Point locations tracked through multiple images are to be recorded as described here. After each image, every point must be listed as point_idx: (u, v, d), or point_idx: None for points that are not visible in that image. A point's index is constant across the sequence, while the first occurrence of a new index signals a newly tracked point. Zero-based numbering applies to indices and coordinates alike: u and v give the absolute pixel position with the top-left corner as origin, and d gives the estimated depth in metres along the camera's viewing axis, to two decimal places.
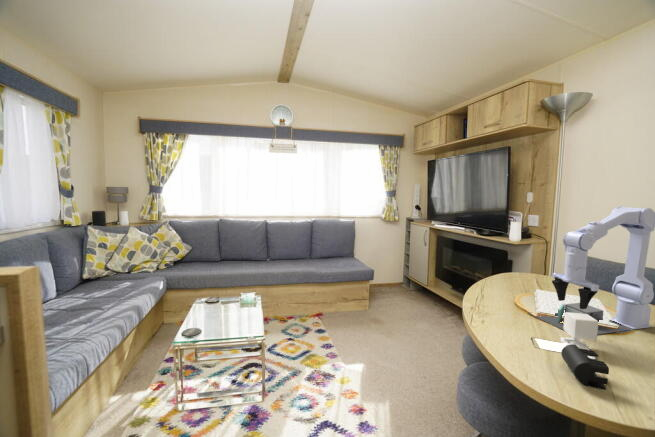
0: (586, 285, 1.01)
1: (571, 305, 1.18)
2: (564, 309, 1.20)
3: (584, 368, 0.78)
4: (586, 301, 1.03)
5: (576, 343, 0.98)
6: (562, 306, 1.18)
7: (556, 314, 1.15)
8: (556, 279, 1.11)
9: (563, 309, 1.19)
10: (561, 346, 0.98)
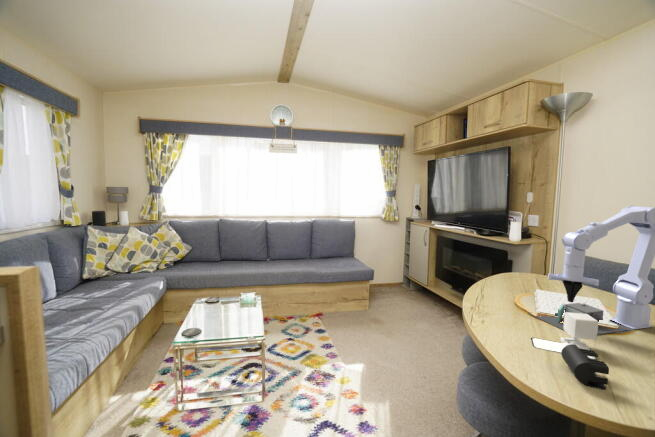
0: None
1: (571, 305, 1.18)
2: (564, 309, 1.20)
3: (584, 368, 0.78)
4: (568, 294, 1.13)
5: (576, 343, 0.98)
6: (562, 306, 1.18)
7: (556, 314, 1.15)
8: None
9: (563, 309, 1.19)
10: (561, 346, 0.98)
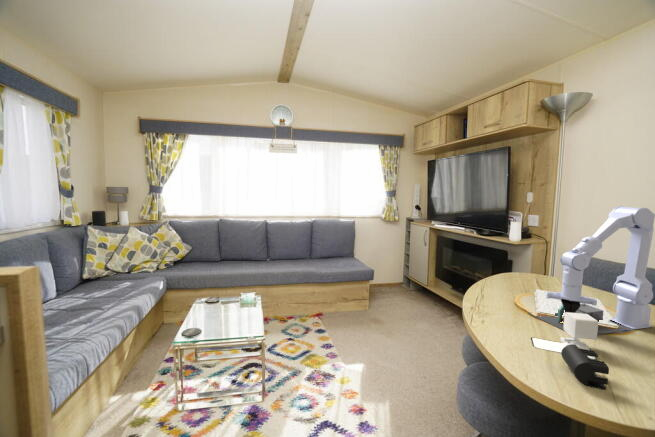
0: None
1: None
2: None
3: (584, 368, 0.78)
4: None
5: (576, 343, 0.98)
6: (562, 306, 1.18)
7: (556, 314, 1.15)
8: None
9: (563, 309, 1.19)
10: (561, 346, 0.98)
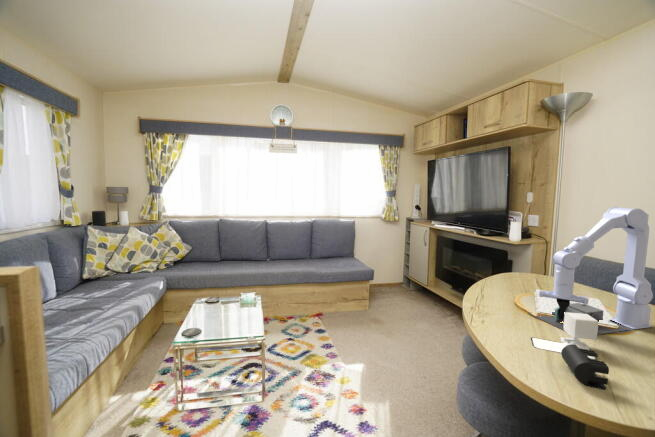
0: None
1: (571, 305, 1.18)
2: None
3: (584, 368, 0.78)
4: None
5: (576, 343, 0.98)
6: None
7: (553, 314, 1.16)
8: None
9: None
10: (561, 346, 0.98)
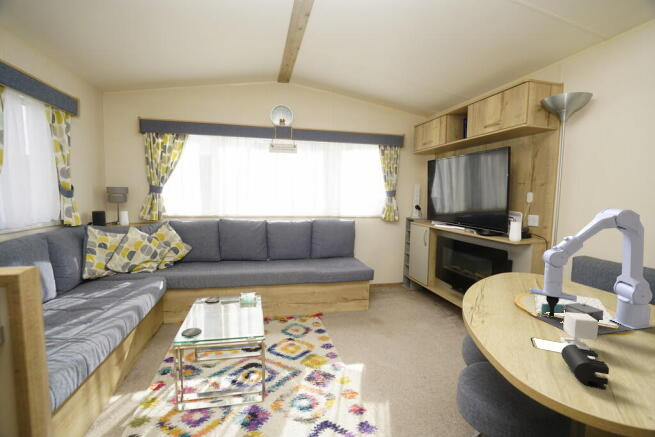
0: None
1: (571, 305, 1.18)
2: (563, 309, 1.19)
3: (584, 368, 0.78)
4: None
5: (576, 343, 0.98)
6: None
7: None
8: None
9: (560, 308, 1.20)
10: (561, 346, 0.98)
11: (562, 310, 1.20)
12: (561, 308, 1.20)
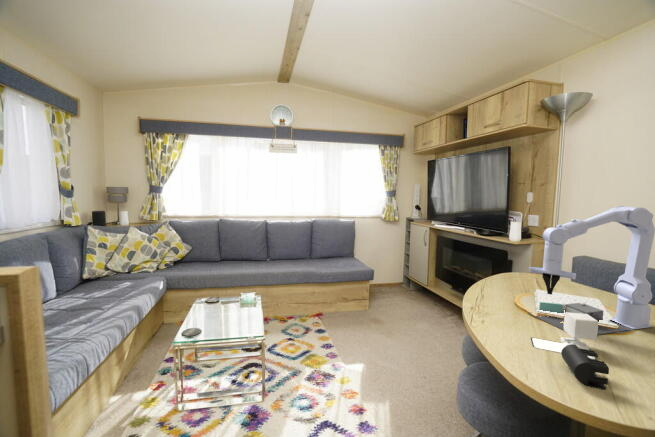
0: None
1: (571, 305, 1.18)
2: (563, 309, 1.19)
3: (584, 368, 0.78)
4: None
5: (576, 343, 0.98)
6: (555, 303, 1.20)
7: None
8: None
9: (560, 308, 1.20)
10: (561, 346, 0.98)
11: (562, 310, 1.20)
12: (561, 308, 1.20)
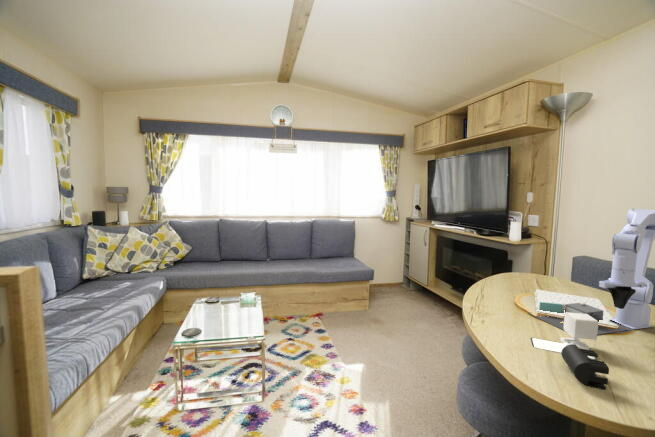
0: None
1: (571, 305, 1.18)
2: (563, 309, 1.19)
3: (584, 368, 0.78)
4: (618, 300, 1.04)
5: (576, 343, 0.98)
6: (555, 303, 1.20)
7: None
8: None
9: (560, 308, 1.20)
10: (561, 346, 0.98)
11: (562, 310, 1.20)
12: (561, 308, 1.20)
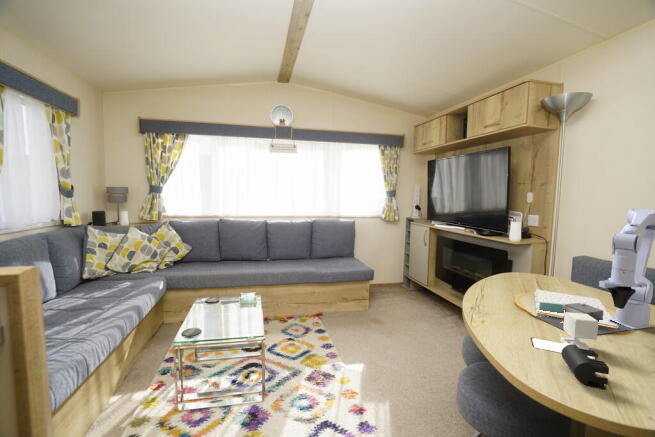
0: None
1: (571, 305, 1.18)
2: (563, 309, 1.19)
3: (584, 368, 0.78)
4: (618, 300, 1.04)
5: (576, 343, 0.98)
6: (555, 303, 1.20)
7: None
8: None
9: (560, 308, 1.20)
10: (561, 346, 0.98)
11: (562, 310, 1.20)
12: (561, 308, 1.20)
